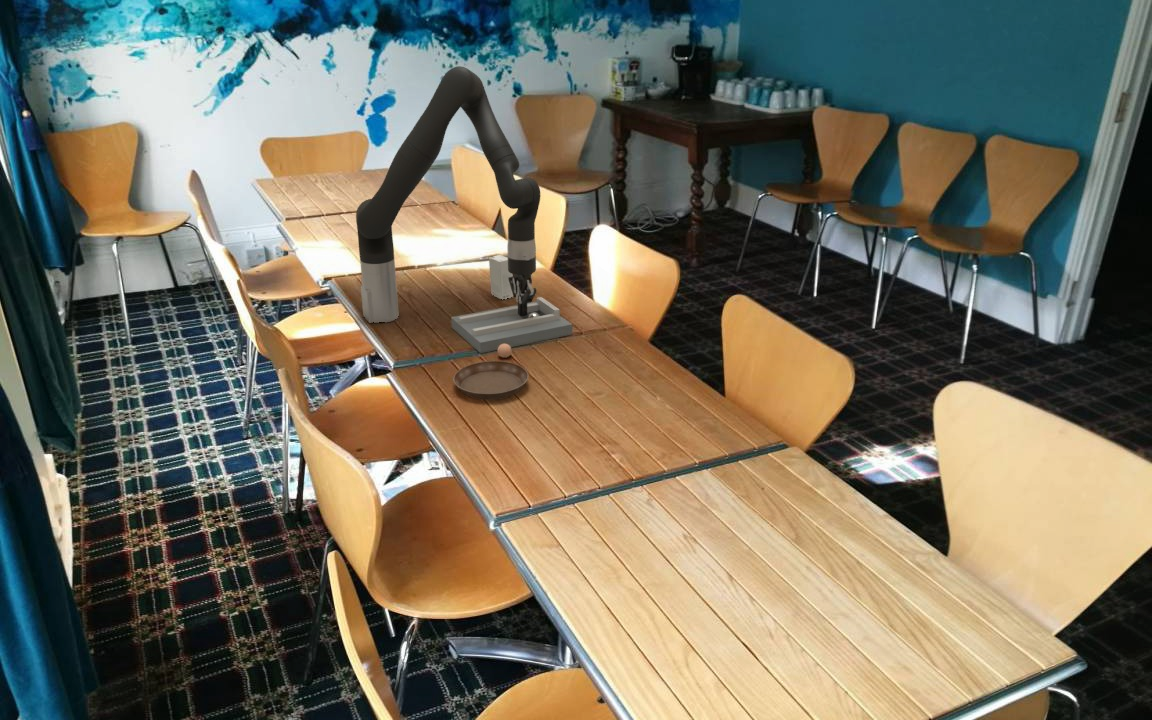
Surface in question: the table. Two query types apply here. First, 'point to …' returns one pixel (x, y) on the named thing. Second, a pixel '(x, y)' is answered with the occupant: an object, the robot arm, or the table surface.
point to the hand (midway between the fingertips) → (522, 315)
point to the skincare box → (500, 277)
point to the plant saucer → (491, 379)
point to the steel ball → (533, 315)
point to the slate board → (511, 326)
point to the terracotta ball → (504, 350)
